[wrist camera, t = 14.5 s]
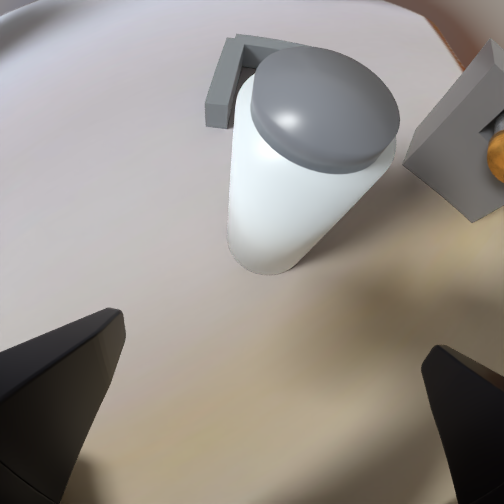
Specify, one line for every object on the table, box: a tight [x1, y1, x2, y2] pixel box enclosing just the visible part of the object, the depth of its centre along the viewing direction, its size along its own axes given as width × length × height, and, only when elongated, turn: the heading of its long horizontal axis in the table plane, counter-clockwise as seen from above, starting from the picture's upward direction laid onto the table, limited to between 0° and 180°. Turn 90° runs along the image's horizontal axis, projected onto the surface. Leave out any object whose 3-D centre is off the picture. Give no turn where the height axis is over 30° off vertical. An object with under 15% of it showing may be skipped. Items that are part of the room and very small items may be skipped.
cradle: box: [205, 34, 312, 129], centre depth 20 cm, size 9×10×2 cm
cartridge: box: [227, 46, 400, 275], centre depth 13 cm, size 5×5×12 cm
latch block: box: [402, 38, 504, 223], centre depth 16 cm, size 5×8×12 cm, turn 57°
